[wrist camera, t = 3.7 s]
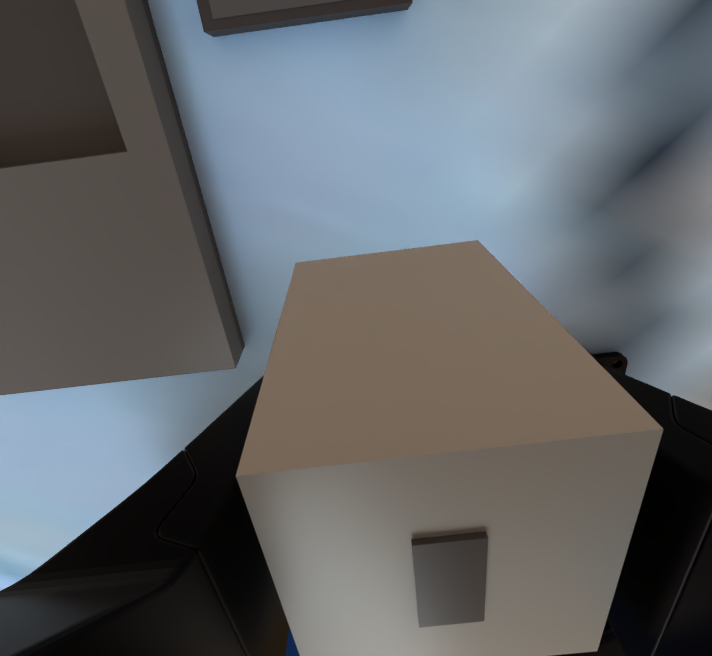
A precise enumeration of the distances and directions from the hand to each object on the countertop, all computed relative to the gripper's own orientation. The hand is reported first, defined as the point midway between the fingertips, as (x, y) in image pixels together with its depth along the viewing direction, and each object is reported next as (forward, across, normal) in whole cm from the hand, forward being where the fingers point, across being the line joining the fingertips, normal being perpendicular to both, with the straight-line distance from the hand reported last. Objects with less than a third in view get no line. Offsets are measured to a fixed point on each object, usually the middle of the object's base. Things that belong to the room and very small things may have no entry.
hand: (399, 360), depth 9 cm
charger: (+1, 0, 0) cm, 1 cm away
